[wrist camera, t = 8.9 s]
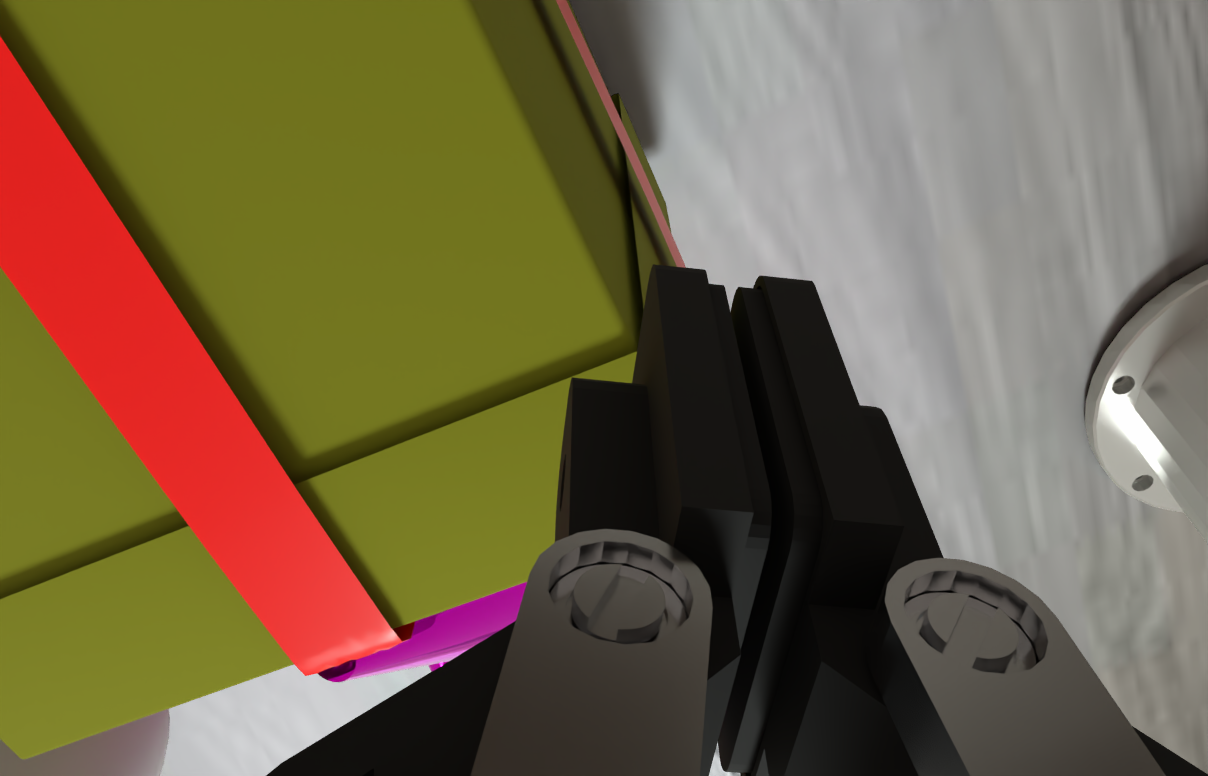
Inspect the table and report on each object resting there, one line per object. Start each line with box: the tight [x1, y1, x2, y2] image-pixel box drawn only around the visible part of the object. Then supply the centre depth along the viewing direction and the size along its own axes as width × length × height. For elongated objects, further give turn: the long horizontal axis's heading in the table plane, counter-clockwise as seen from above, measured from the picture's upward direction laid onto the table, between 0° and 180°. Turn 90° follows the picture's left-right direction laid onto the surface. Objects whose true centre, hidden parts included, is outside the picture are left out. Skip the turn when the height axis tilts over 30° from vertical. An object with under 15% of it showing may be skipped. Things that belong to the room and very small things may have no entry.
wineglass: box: [0, 709, 170, 776], centre depth 35 cm, size 8×8×21 cm
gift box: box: [0, 0, 686, 759], centre depth 29 cm, size 21×21×25 cm
